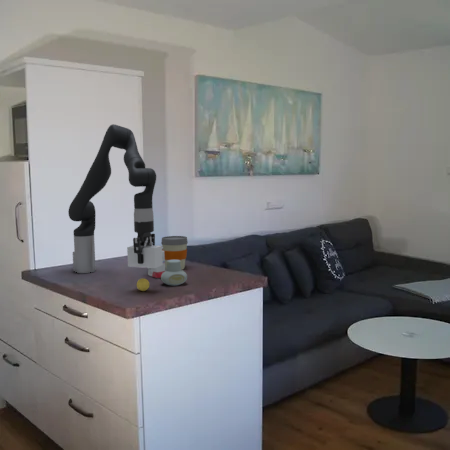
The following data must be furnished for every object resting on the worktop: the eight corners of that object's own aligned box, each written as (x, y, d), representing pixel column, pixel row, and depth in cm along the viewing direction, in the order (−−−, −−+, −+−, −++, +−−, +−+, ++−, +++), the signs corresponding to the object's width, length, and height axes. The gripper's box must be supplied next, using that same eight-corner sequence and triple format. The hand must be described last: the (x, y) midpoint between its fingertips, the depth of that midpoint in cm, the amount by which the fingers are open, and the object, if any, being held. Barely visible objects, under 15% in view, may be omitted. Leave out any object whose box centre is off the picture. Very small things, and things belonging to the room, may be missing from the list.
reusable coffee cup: (164, 266, 251) (163, 235, 249) (189, 265, 250) (188, 235, 248) (160, 271, 238) (159, 239, 236) (186, 271, 238) (186, 239, 236)
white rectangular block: (127, 266, 198) (127, 247, 197) (136, 263, 204) (135, 244, 203) (155, 268, 194) (154, 248, 194) (162, 264, 201) (162, 245, 200)
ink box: (166, 277, 225) (165, 250, 224) (155, 278, 223) (155, 252, 221) (157, 273, 233) (156, 248, 231) (147, 275, 230) (146, 249, 228)
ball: (147, 289, 197) (137, 294, 199) (153, 286, 202) (144, 291, 204) (141, 277, 197) (132, 282, 199) (148, 275, 202) (138, 280, 204)
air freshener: (184, 281, 218) (183, 258, 216) (189, 285, 210) (189, 261, 209) (159, 283, 214) (158, 259, 213) (163, 287, 206) (163, 263, 205)
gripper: (143, 217, 205) (145, 258, 207) (126, 221, 192) (127, 264, 194) (160, 218, 203) (161, 259, 205) (143, 222, 189) (145, 265, 191)
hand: (145, 261), depth 199 cm, fingers closed on white rectangular block, 6 cm apart
